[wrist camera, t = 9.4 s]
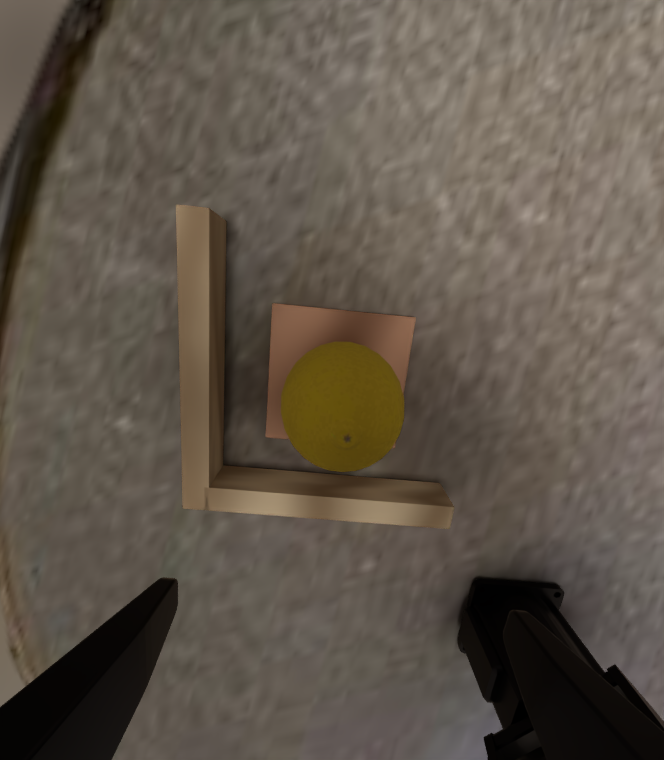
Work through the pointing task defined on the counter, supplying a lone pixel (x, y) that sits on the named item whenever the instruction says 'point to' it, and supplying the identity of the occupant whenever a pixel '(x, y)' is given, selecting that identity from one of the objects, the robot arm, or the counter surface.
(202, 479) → the wooden corner frame
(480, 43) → the counter surface
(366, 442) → the lemon
